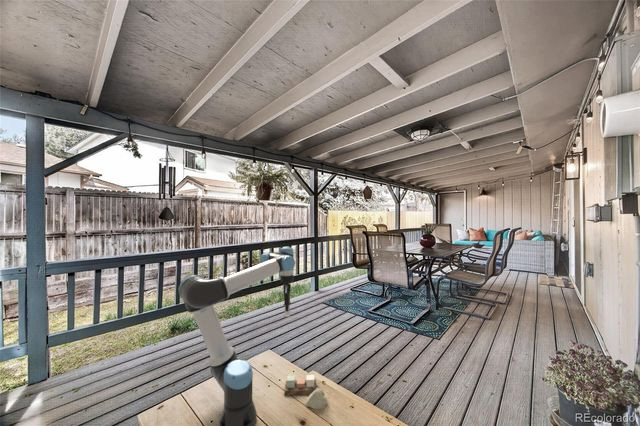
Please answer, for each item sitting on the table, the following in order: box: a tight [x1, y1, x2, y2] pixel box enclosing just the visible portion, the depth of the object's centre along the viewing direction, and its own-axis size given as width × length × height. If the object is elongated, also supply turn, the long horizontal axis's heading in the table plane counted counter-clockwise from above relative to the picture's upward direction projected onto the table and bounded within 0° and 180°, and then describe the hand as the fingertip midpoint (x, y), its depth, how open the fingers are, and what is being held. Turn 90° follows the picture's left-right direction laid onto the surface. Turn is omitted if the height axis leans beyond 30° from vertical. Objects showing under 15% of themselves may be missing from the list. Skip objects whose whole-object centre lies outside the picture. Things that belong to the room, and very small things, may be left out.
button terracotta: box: [296, 377, 306, 388], centre depth 125 cm, size 4×4×4 cm
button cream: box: [305, 374, 315, 388], centre depth 125 cm, size 4×4×4 cm
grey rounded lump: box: [305, 388, 328, 410], centre depth 115 cm, size 8×8×8 cm
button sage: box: [286, 374, 296, 389], centre depth 125 cm, size 4×4×4 cm
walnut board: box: [283, 379, 317, 396], centre depth 125 cm, size 16×8×2 cm, turn 92°
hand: (287, 316), depth 138 cm, fingers closed
